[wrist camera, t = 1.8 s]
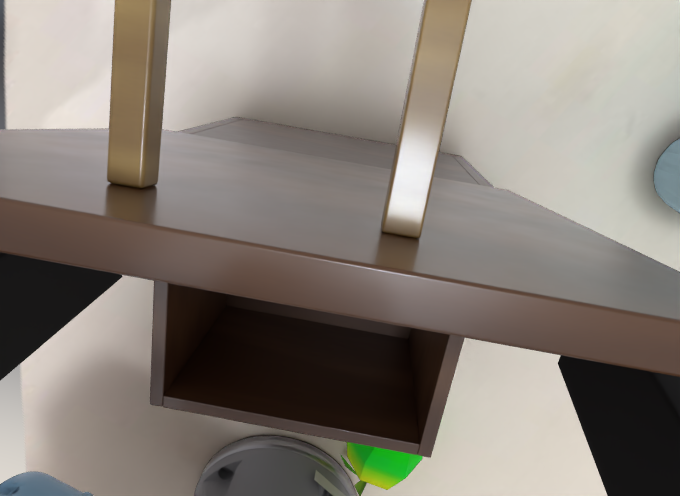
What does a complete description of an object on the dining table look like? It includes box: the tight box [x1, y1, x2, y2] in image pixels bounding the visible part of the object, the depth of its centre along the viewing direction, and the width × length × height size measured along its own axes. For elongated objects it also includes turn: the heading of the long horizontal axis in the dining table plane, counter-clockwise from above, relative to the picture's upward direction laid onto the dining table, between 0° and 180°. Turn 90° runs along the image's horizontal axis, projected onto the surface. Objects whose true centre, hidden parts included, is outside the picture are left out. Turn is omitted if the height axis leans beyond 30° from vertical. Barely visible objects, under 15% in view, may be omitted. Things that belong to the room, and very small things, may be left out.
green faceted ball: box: [340, 442, 422, 496], centre depth 41 cm, size 7×6×9 cm
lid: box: [0, 0, 680, 377], centre depth 13 cm, size 16×17×10 cm
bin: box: [150, 117, 493, 457], centre depth 32 cm, size 16×17×13 cm
